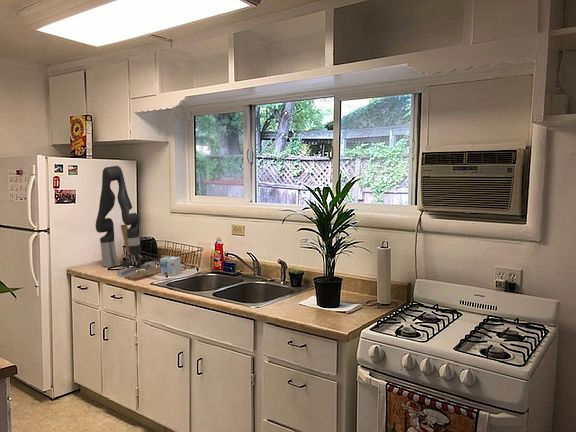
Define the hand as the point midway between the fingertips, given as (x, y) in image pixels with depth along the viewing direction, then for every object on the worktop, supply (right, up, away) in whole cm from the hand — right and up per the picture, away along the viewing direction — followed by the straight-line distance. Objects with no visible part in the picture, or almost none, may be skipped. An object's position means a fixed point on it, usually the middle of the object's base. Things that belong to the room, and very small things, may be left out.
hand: (137, 269), depth 310 cm
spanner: (0, -1, 0) cm, 1 cm away
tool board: (+10, -2, -8) cm, 13 cm away
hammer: (-7, 0, +12) cm, 14 cm away
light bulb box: (+25, -2, -12) cm, 28 cm away
